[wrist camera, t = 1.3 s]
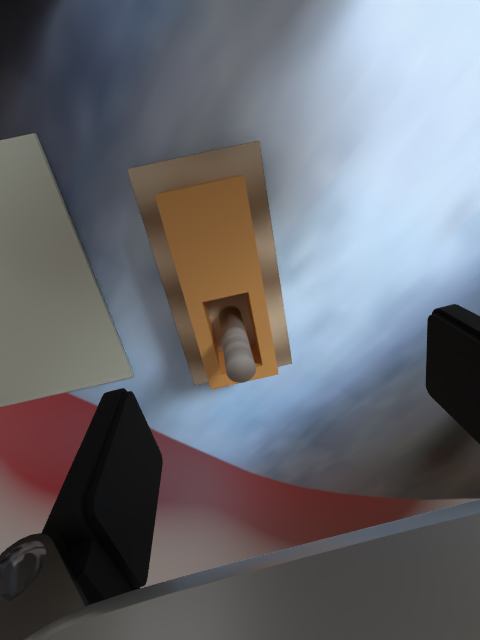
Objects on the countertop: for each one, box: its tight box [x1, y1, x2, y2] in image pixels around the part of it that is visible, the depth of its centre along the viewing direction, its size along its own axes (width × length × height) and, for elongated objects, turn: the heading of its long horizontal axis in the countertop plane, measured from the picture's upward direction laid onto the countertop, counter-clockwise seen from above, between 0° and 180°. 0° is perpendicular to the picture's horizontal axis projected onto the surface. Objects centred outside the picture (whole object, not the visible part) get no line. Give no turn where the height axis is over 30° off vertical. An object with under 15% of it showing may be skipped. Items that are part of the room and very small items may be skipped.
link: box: [155, 175, 278, 389], centre depth 26 cm, size 16×6×4 cm, turn 11°
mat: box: [0, 133, 134, 407], centre depth 28 cm, size 22×14×1 cm, turn 11°
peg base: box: [127, 141, 292, 386], centre depth 25 cm, size 20×10×11 cm, turn 11°
